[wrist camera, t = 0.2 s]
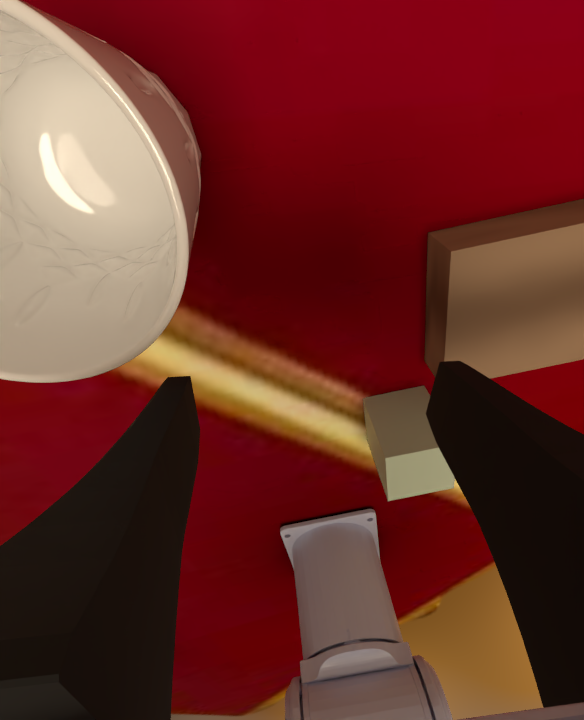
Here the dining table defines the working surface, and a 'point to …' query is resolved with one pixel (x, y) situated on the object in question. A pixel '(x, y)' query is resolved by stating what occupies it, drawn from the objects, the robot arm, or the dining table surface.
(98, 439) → the dining table surface
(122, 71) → the white cup
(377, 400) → the green block
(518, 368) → the walnut base
